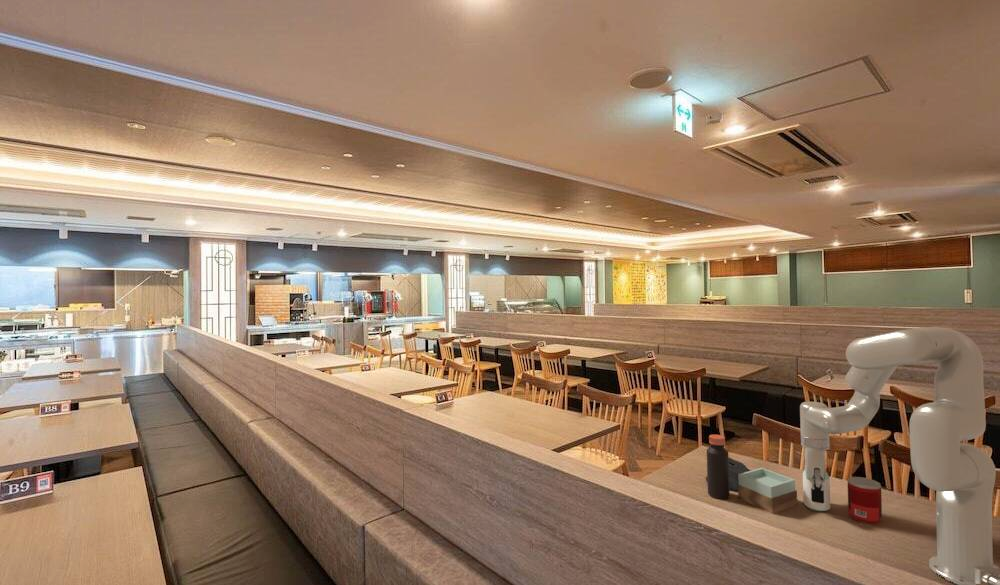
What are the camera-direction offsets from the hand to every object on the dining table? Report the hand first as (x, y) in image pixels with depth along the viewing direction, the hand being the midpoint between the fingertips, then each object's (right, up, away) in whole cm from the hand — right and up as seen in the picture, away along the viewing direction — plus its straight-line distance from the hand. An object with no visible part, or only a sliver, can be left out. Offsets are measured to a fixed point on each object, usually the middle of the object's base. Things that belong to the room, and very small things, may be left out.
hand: (816, 496), depth 147 cm
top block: (-13, +1, +5) cm, 14 cm away
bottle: (-26, -4, +11) cm, 29 cm away
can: (0, -4, 0) cm, 4 cm away
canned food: (+10, -3, -7) cm, 13 cm away
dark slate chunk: (-16, -5, +24) cm, 29 cm away
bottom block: (-13, -4, +5) cm, 14 cm away
